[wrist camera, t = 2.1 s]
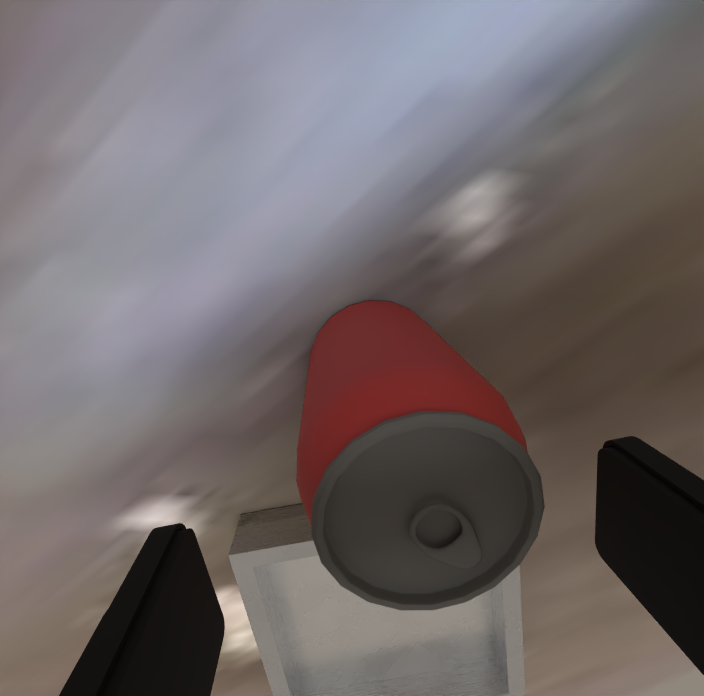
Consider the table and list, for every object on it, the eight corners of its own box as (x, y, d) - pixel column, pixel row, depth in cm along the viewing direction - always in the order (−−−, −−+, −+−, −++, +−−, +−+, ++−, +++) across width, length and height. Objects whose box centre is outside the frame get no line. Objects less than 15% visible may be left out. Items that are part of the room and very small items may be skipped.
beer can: (366, 439, 22) (409, 668, 10) (283, 356, 20) (226, 521, 9) (459, 363, 21) (619, 525, 9) (380, 270, 19) (458, 329, 8)
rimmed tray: (493, 470, 23) (516, 504, 20) (504, 652, 27) (525, 701, 25) (240, 514, 23) (228, 555, 20) (293, 690, 27) (289, 744, 24)
